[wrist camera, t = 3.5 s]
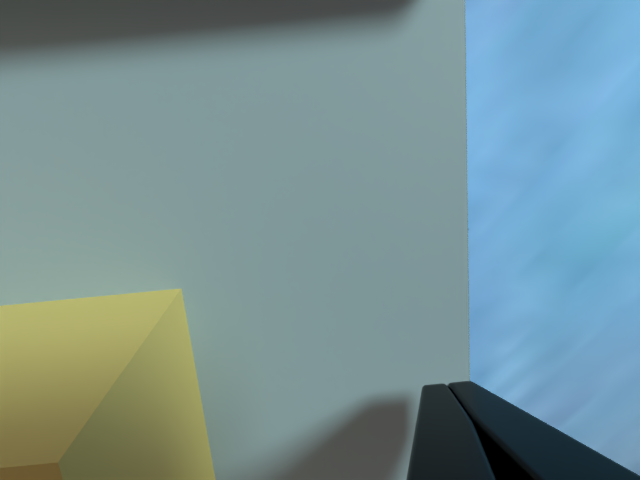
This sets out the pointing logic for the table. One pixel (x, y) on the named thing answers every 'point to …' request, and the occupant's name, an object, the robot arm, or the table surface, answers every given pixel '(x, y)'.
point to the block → (101, 390)
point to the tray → (254, 204)
